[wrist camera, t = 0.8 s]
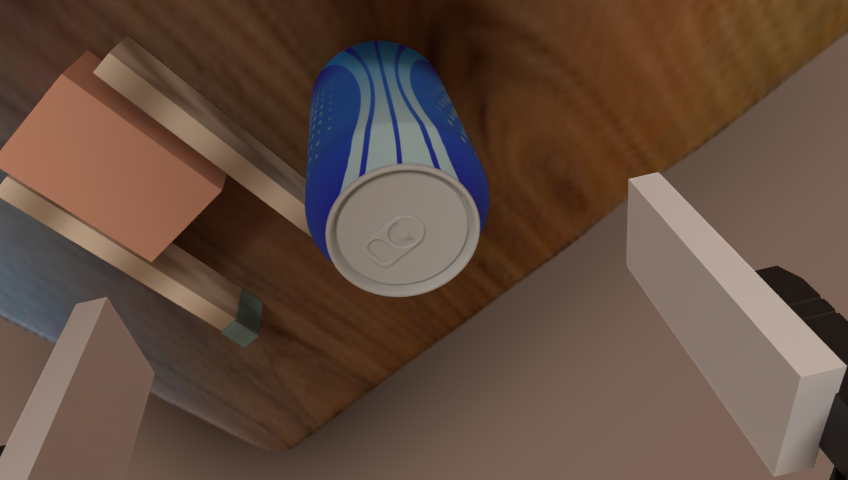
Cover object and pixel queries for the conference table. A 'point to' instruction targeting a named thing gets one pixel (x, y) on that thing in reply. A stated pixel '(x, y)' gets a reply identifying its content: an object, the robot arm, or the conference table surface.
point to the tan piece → (216, 142)
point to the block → (110, 162)
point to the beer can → (391, 173)
